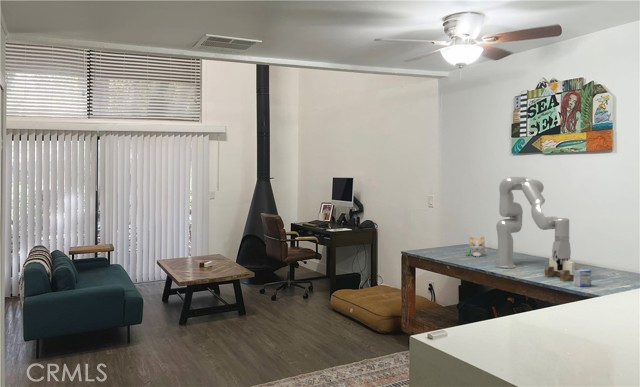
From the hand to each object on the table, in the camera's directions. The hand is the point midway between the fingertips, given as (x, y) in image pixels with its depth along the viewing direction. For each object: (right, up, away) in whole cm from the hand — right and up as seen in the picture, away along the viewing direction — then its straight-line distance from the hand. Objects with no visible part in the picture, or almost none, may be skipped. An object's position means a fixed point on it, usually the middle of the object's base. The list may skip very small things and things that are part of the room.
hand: (561, 270), depth 275 cm
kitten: (-25, -2, +76) cm, 80 cm away
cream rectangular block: (0, -1, 0) cm, 1 cm away
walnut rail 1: (-2, -5, +5) cm, 7 cm away
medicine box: (+2, -6, -18) cm, 19 cm away
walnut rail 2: (+2, -5, -5) cm, 7 cm away
